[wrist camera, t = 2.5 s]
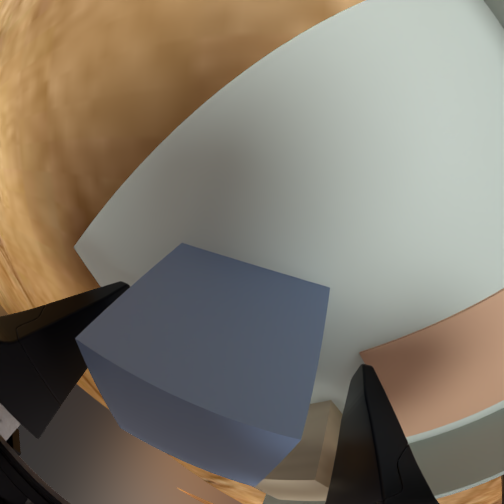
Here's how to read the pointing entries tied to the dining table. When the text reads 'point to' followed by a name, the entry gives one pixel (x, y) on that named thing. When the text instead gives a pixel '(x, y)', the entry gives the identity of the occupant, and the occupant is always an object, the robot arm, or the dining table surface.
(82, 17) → the dining table surface
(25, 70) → the dining table surface
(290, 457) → the beech block
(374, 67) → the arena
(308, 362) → the cube
